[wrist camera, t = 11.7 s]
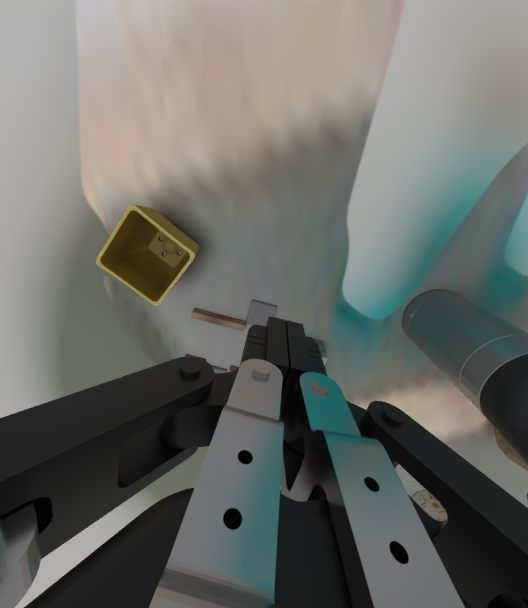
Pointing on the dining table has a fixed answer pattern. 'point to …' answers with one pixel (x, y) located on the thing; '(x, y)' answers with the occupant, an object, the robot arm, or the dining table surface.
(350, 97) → the dining table surface
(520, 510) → the robot arm
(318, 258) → the dining table surface
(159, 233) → the flower pot
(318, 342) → the lane
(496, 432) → the tankard
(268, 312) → the trap pads
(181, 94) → the dining table surface
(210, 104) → the dining table surface
